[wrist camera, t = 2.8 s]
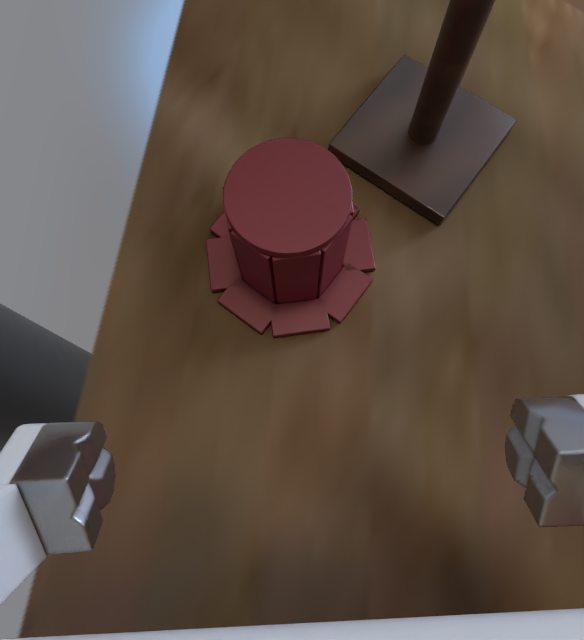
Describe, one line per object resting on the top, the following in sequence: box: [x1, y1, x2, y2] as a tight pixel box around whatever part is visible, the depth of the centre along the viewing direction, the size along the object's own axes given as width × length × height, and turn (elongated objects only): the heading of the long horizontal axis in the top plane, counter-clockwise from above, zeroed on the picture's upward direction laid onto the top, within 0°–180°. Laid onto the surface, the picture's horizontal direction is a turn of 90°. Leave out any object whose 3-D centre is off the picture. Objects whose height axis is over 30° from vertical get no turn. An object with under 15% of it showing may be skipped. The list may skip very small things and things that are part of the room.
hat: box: [206, 138, 376, 338], centre depth 30 cm, size 10×10×8 cm
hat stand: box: [328, 0, 516, 225], centre depth 28 cm, size 9×9×15 cm
